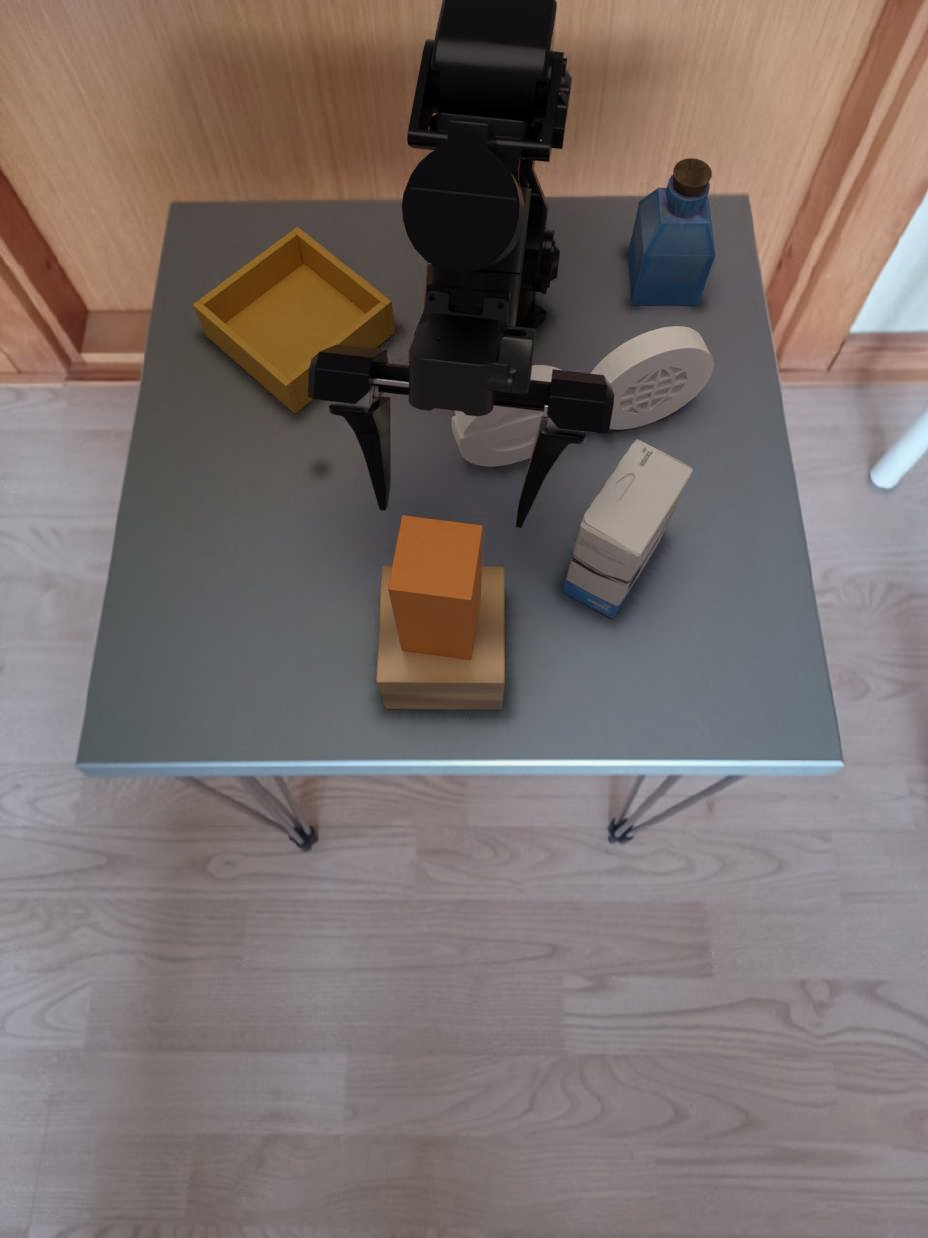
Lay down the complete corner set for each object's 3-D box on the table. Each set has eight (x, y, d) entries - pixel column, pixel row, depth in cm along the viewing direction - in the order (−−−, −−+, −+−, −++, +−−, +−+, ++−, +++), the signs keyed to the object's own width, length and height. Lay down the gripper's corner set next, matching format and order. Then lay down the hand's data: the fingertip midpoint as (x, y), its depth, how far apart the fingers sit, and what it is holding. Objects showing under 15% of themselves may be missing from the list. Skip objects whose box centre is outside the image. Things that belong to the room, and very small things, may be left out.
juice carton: (413, 586, 63) (402, 514, 53) (481, 595, 63) (483, 524, 53) (401, 650, 61) (387, 589, 51) (471, 660, 61) (471, 600, 51)
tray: (305, 259, 83) (297, 226, 79) (395, 332, 80) (391, 301, 76) (205, 335, 80) (192, 304, 76) (295, 414, 77) (285, 385, 73)
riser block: (390, 601, 70) (381, 565, 64) (501, 602, 70) (504, 565, 64) (385, 709, 67) (375, 682, 61) (501, 710, 67) (505, 683, 60)
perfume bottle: (698, 305, 81) (734, 201, 70) (631, 305, 81) (657, 200, 70) (692, 253, 83) (726, 144, 72) (627, 253, 83) (652, 144, 72)
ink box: (613, 622, 70) (640, 559, 59) (559, 592, 71) (576, 524, 60) (662, 540, 72) (697, 465, 61) (609, 512, 73) (634, 434, 62)
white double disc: (686, 390, 78) (716, 312, 68) (696, 409, 77) (728, 333, 67) (452, 457, 75) (450, 386, 66) (460, 478, 74) (459, 410, 65)
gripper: (283, 253, 45) (279, 536, 52) (640, 292, 44) (592, 577, 51) (334, 252, 56) (326, 489, 62) (626, 283, 54) (588, 521, 61)
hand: (450, 517), depth 58 cm, fingers open, 9 cm apart
